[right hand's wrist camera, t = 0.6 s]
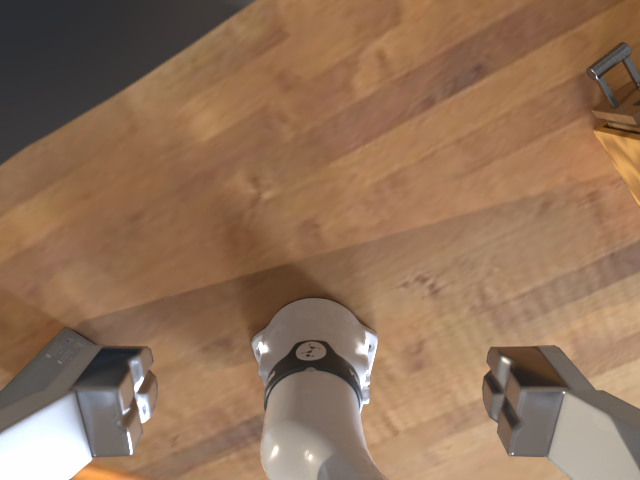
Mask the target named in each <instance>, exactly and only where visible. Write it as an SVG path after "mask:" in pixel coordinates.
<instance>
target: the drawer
mask: <svg viewBox="0 0 640 480" xmlns="http://www.w3.org/2000/svg"><path fill="white" fill-rule="evenodd" d="M630 54H631V48H630V47H629V45H628V44H626V43H624V42H621V43H620V44H618V45H617V46H616V47H614V48H613V49H612V50H610V51H609V52H608V53H606V54H605V55H604V56H603V57H601V58H600V59H599V60H597V61H596V62H595V63H593V64H592V65H591V66H589V67H588V68H587V69H586V73H587V75H588V76H589V77H590V78H591V79H592V80H596V82H597V84H598V85H599V87H600V89H601V90H602V92H603V94H604V96H605V97H606V100H604V101H603V102H602V103H600V104H599V105H598V106H596V107H595V108H594V109H592V112H593V114H594V116H595V117H596V118H600V119H606V120H611V121H609V122H608V125H609V127H610V128H611V129H615V130H620V131H624V132H629V133H634V134H639V135H640V75H639V73H638V71H637V70H636V68H635V66H634V64H633V62H632V60H631V58H630V57H629V55H630ZM621 61H622V63H623V64H624V66H625V68H626V70H627V72H628V73H629V75H630V77H631V79H632V81H633V82H629V83H628V84H626V85H625V86H623V87H622V88H621V89H619V90H618V91H617V92H615V93H614V94H613V93H612V91H611V90H610V88H609V86H608V84H607V83H606V81H605V79H604V77H603V76H602V75H604V74H605V73H606V72H608V71H609V70H610V69H612V68H613V67H614V66H616V65H617V64H618V63H620V62H621Z"/></svg>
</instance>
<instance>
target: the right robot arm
mask: <svg viewBox="0 0 640 480" xmlns="http://www.w3.org/2000/svg"><path fill="white" fill-rule="evenodd" d="M377 342H378V336H377V334H376V332H374V331H373V330H371V329H370V328H368V327H366V326H364V325H362V324H361V323H360V322H359V321H358V320H357V319H356V317H355V316H354V315H353V314H352V313H351V312H350V311H349V310H348V309H347V308H345V307H344V306H342V305H340V304H338V303H336V302H334V301H331V300H327V299H321V298H307V299H301V300H298V301H295V302H292V303H290V304H288V305H286V306H285V307H283V308H282V309H281V310H280V311H278V312H277V313H276V315H275V316H274V317H273V318H272V320H271V322H270V323H269V325H268V326H267V327H266V328H265V329H263V330H262V331H260V332H259V333H257V334H256V335H255V336H254V337H253V338H252V343H251V346H252V349H253V352H254V354H255V357H256V360H257V363H258V375H259V376H261V379H262V382H263V384H264V386H265V391H264V409H265V413H266V414H265V421H264V427H263V433H262V439H261V446H260V457H261V462H262V466H263V468H264V471H265V473H266V475H267V476H268V478H269V479H270V480H388V479H387V478H386V476H385V475H384V474H383V473H382V472H381V471H380V469H379V468H378V467H377V465H376V464H375V462H374V461H373V459H372V458H371V456H370V454H369V452H368V449H367V446H366V442H365V438H364V434H363V429H362V424H361V418H360V414H361V410H362V405H363V404H367V403H369V397H370V390H369V388H368V387H367V385H369V384H370V372H371V368H372V363H373V359H374V355H375V351H376V347H377ZM369 345H370V346H369ZM152 363H153V356H152V351H151V349H150V348H149V347H148V346H104V345H101V346H84V347H81V348H80V349H79V350H78V351H77V352H76V354H75V355H74V356H73V357H72V358H71V359H70V360H69V362H68V363H67V364H66V365H65V366H64V367H63V369H62V370H61V371H60V372H59V373H58V374H57V375H56V377H55V378H54V379H53V380H52V381H51V382H50V384H49V385H48V386H47V387H46V388H45V389H44V390H37V391H35V392H33V393H31V394H29V395H27V396H25V397H23V398H21V399H19V400H17V401H15V402H13V403H11V404H9V405H7V406H5V407H4V408H2V409H0V480H69V479H70V478H71V477H72V476H73V475H75V474H76V473H77V472H78V471H79V470H80V469H82V468H83V467H84V466H85V465H86V464H87V463H89V462H90V461H91V460H92V457H116V456H132V454H133V452H134V450H135V448H136V446H137V444H138V442H139V439H140V437H141V435H142V433H143V429H142V423H143V422H144V421H146V420H147V419H149V418H150V417H151V415H152V413H153V410H154V408H155V404H156V400H157V392H158V385H157V378H156V376H155V375H154V374H153V373H152V372H151V371H150V370H149V369H150V367H151V365H152ZM487 363H488V365H489V367H490V369H491V370H490V371H489V372H488V373H487V374H486V375H485V376H484V379H483V386H482V391H483V401H484V405H485V408H486V410H487V413H488V415H489V417H490V418H491V419H493V420H494V421H496V422H497V423H498V429H497V433H498V435H499V437H500V439H501V441H502V443H503V446H504V448H505V450H506V452H507V454H508V456H523V457H548V460H549V461H550V462H552V463H553V464H554V465H555V466H556V467H557V468H559V469H560V470H561V471H562V472H563V473H564V474H566V475H567V476H568V477H569V478H570V479H571V480H640V409H638V408H636V407H634V406H632V405H631V404H629V403H627V402H625V401H623V400H621V399H619V398H617V397H615V396H613V395H611V394H609V393H607V392H605V391H603V390H596V389H595V388H594V387H593V386H592V385H591V384H590V382H589V381H588V380H587V379H586V378H585V377H584V375H583V374H582V373H581V372H580V371H579V370H578V369H577V367H576V366H575V365H574V364H573V363H572V362H571V360H570V359H569V358H568V357H567V356H566V355H565V354H564V352H563V351H562V350H561V349H560V348H559V347H557V346H555V345H545V346H526V347H491V348H490V350H489V352H488V355H487Z"/></svg>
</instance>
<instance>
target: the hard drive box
mask: <svg viewBox="0 0 640 480" xmlns="http://www.w3.org/2000/svg"><path fill="white" fill-rule="evenodd" d="M84 346H97V345H95V344H93V343H92V342H90V341H89V340H87V339H85V338H84V337H82V336H80V335H79V334H77V333H75V332H74V331H72V330H70V329H69V328H67V327H65V328H64V329H62V330H61V331H60V332H59V333H58V334H57V335H56V336H55V337H54V338H53V339H52V340H51V341H50V342H49V343H48V344H47V345H46V346H45V347H44V348H43V349H42V350H41V351H40V352H39V353H38V354H37V355H36V356H35V357H34V358H33V359H32V360H31V361H30V362H29V363H28V364H27V365H26V366H25V367H24V368H23V369H22V370H21V371H20V372H19V373H18V374H17V375H16V376H15V377H14V378H13V379H12V380H11V381H10V382H9V383H8V384H7V385H6V386H5V387H4V388H3V389H2V390H1V391H0V409H2V408H4V407H5V406H7V405H9V404H11V403H13V402H15V401H17V400H19V399H21V398H23V397H25V396H27V395H29V394H31V393H33V392H35V391H37V390H44V389H45V388H46V387H47V386H48V385H49V384H50V382H51V381H52V380H53V379H54V378H55V377H56V375H57V374H58V373H59V372H60V371H61V370H62V369H63V367H64V366H65V365H66V364H67V363H68V362H69V360H70V359H71V358H72V357H73V356H74V355H75V354H76V352H77V351H78V350H79V349H80V348H81V347H84Z"/></svg>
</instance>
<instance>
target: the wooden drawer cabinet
mask: <svg viewBox="0 0 640 480" xmlns="http://www.w3.org/2000/svg"><path fill="white" fill-rule="evenodd" d="M609 121H611V120H606V121H605V122H603V123H602V124H601V125H599V126H598V127H596V128H595V129H594V130H593V131H594V133H595V134H596V136H597V138H598V139H599V141H600V143H601V144H602V146H603V148H604V149H605V151H606V153H607V154H608V156H609V158H610V159H611V161H612V162H613V164H614V166H615V167H616V169H617V171H618V172H619V174H620V176H621V177H622V179H623V181H624V182H625V184H626V186H627V187H628V189H629V191H630V192H631V194H632V196H633V197H634V199H635V201H636V202H637V204H638V205H639V207H640V135H639V134H634V133H629V132H624V131H620V130H615V129H611V128H610V127H609V125H608V122H609Z"/></svg>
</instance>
